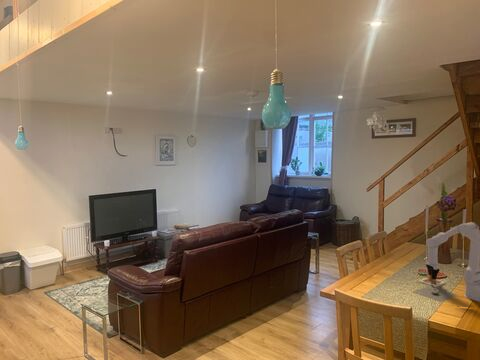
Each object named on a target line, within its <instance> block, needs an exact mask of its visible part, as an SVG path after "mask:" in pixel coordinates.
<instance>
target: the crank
mask: <svg viewBox="0 0 480 360" xmlns="http://www.w3.org/2000/svg"><path fill="white" fill-rule="evenodd" d="M429 286H430V290H431V293H432V294H436V295H437V294H439V290H437V289H438V288H437V289H435V288H436V287H434V286H433V282H432V281H430V285H429Z"/></svg>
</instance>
